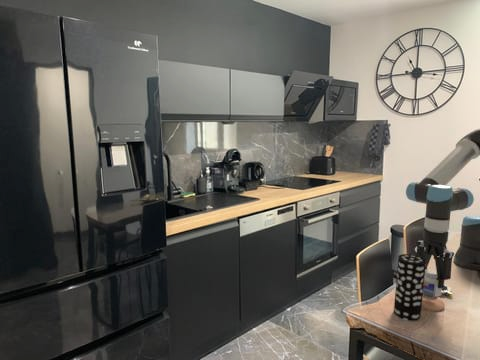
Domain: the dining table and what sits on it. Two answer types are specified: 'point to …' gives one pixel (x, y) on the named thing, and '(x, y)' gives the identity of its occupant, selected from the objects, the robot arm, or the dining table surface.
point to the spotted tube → (409, 287)
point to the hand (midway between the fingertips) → (429, 291)
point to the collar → (446, 291)
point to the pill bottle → (429, 285)
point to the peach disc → (433, 305)
